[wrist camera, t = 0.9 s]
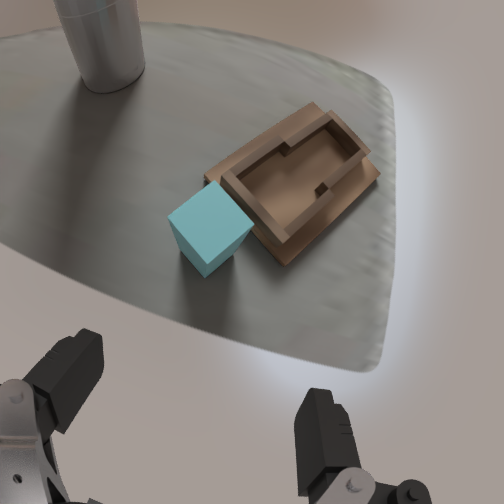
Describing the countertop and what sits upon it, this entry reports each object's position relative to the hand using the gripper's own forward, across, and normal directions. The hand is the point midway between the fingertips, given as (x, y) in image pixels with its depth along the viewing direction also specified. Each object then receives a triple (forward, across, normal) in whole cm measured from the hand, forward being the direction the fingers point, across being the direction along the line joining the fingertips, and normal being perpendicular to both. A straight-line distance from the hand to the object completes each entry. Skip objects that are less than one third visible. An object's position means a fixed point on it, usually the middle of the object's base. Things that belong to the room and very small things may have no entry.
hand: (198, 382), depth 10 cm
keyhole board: (+27, -5, -7) cm, 29 cm away
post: (+21, +3, +2) cm, 21 cm away
